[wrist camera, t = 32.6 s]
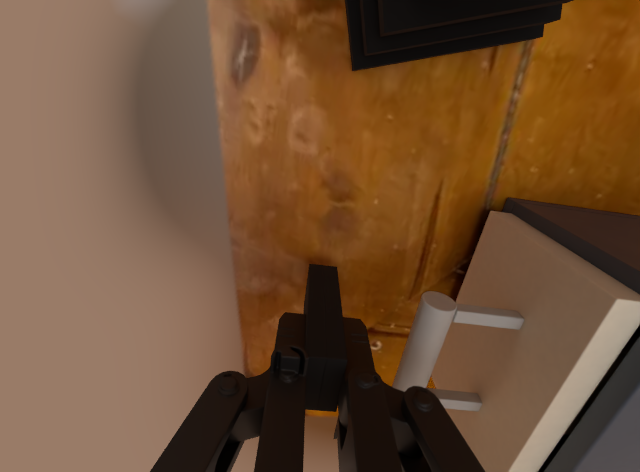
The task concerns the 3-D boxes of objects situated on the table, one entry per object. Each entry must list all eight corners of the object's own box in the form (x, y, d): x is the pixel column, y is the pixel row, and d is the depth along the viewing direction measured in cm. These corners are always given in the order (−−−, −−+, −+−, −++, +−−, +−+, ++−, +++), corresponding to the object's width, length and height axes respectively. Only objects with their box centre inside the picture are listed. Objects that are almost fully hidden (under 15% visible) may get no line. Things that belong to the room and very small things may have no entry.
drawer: (365, 363, 21) (388, 503, 14) (409, 199, 16) (477, 281, 9) (619, 391, 22) (762, 534, 15) (729, 243, 17) (1014, 348, 10)
